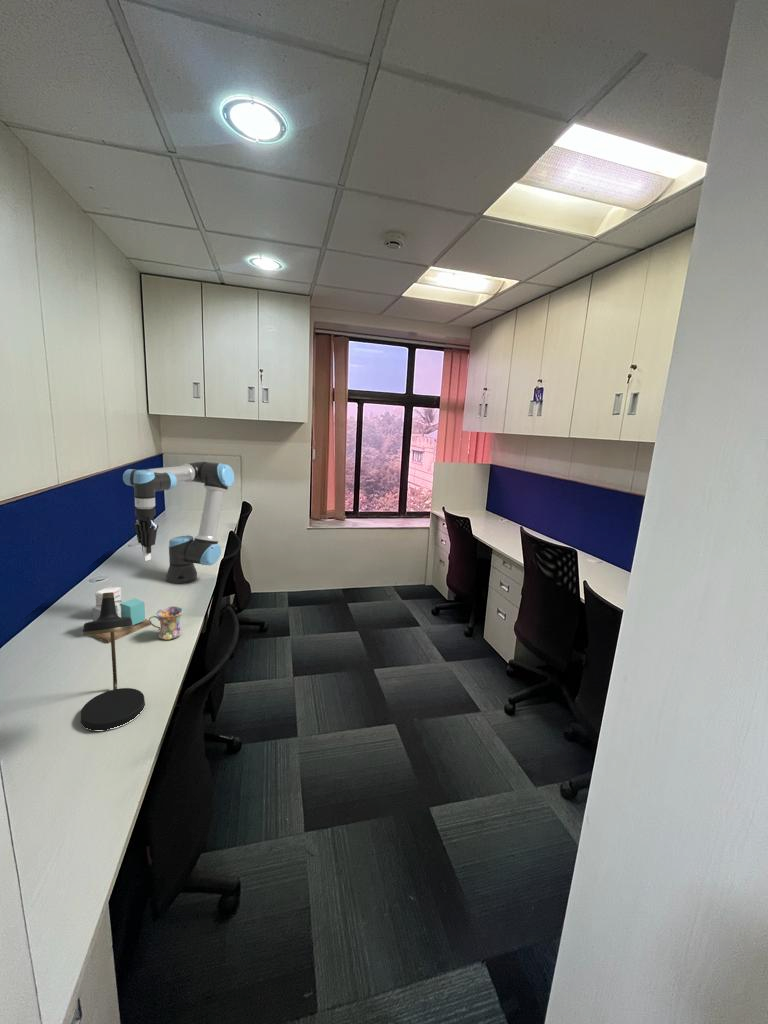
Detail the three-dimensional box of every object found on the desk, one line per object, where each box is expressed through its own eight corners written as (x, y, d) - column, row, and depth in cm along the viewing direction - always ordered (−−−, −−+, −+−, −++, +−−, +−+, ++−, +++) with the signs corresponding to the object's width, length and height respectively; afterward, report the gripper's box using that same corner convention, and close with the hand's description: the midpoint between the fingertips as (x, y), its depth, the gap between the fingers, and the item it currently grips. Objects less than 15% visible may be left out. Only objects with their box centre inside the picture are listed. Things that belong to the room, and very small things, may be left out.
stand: (132, 616, 178) (131, 593, 175) (151, 624, 173) (150, 600, 171) (88, 634, 162) (86, 609, 159) (108, 643, 157) (106, 617, 155)
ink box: (106, 620, 173) (104, 594, 171) (96, 618, 174) (94, 592, 171) (122, 611, 181) (121, 586, 179) (113, 609, 182) (111, 585, 180)
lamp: (76, 741, 111) (66, 610, 103) (85, 694, 129) (76, 579, 121) (145, 723, 119) (140, 601, 111) (144, 681, 137) (139, 573, 129)
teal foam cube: (135, 616, 173) (134, 598, 172) (145, 620, 171) (144, 601, 169) (121, 621, 168) (120, 603, 166) (131, 625, 166) (130, 607, 164)
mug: (183, 628, 172) (182, 605, 170) (182, 639, 164) (182, 615, 162) (150, 632, 167) (149, 608, 165) (148, 644, 159) (147, 619, 156)
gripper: (126, 505, 173) (128, 558, 178) (147, 510, 168) (149, 565, 173) (143, 503, 179) (145, 554, 184) (163, 508, 174) (165, 560, 179)
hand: (147, 559), depth 178 cm, fingers closed
